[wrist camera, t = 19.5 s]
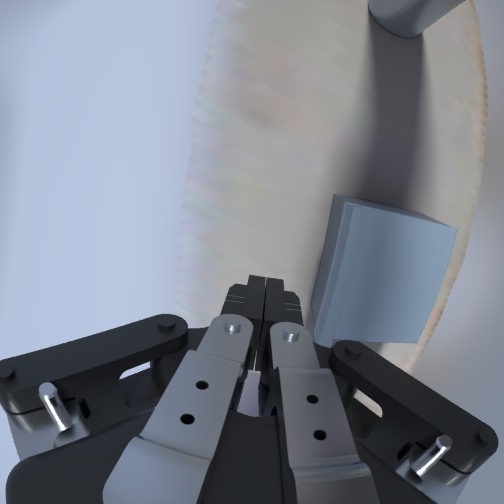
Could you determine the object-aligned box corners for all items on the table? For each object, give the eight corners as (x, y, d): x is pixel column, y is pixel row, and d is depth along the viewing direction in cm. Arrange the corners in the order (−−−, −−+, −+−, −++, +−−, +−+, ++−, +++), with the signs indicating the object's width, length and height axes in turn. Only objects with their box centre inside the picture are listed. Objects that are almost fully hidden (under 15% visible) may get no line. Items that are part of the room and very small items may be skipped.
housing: (333, 194, 35) (348, 202, 28) (421, 213, 34) (449, 226, 27) (310, 302, 40) (317, 331, 33) (393, 311, 39) (410, 338, 32)
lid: (344, 201, 27) (353, 207, 24) (453, 227, 27) (469, 234, 24) (313, 332, 32) (316, 350, 29) (414, 339, 32) (423, 354, 29)
